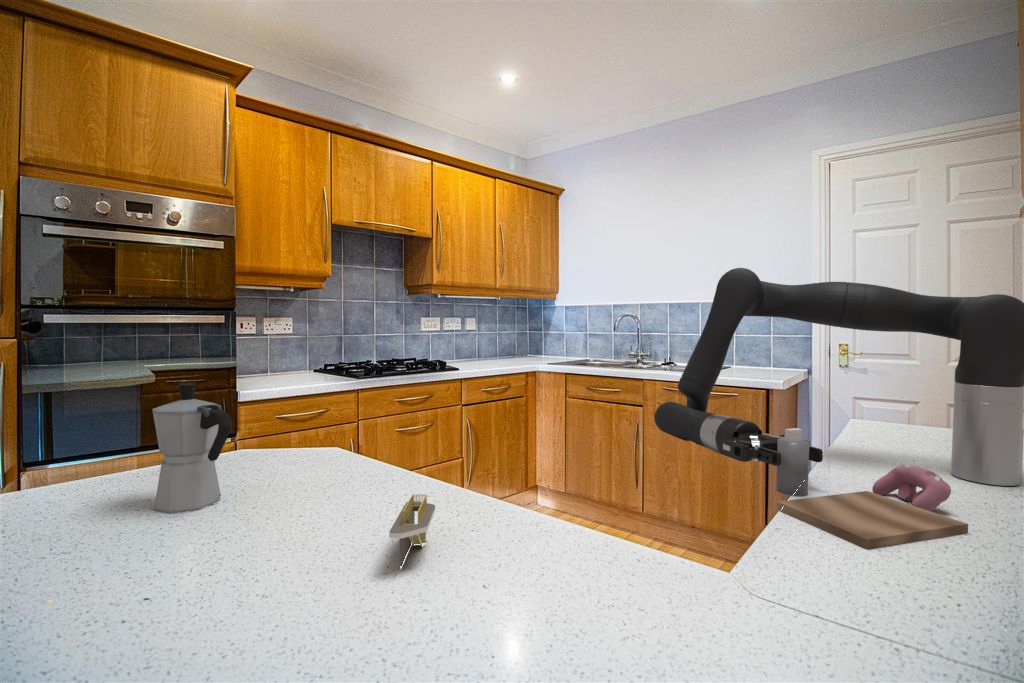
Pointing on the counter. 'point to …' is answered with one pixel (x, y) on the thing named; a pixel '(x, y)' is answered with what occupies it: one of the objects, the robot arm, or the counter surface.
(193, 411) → the coffee maker
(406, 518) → the platform
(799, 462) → the grey cylinder with tab
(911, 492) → the video game controller
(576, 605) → the counter surface
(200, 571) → the counter surface
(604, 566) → the counter surface
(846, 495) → the walnut board
